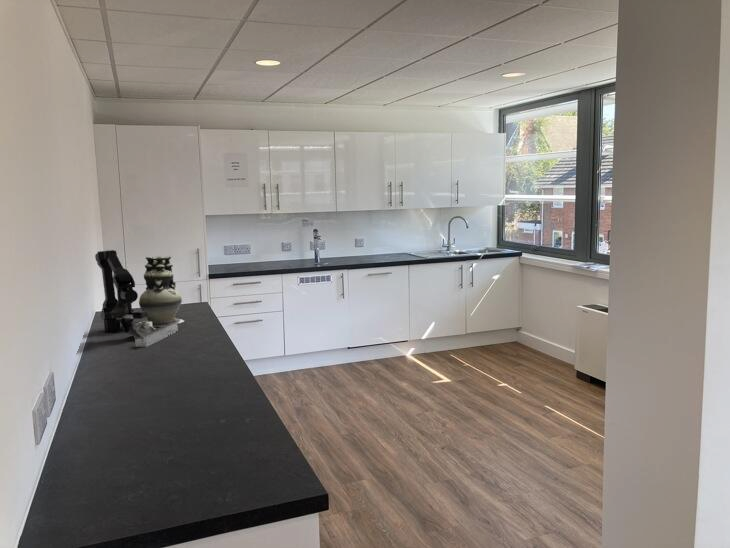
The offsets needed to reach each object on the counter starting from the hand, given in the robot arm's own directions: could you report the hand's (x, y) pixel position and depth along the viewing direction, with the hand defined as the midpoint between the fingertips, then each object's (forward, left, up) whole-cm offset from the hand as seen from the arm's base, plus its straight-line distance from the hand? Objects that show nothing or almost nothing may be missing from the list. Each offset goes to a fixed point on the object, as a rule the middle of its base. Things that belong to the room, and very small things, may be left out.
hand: (127, 332), depth 276 cm
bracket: (+15, 0, -3) cm, 16 cm away
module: (+1, +14, -3) cm, 14 cm away
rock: (+8, +3, -3) cm, 9 cm away
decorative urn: (0, +33, -3) cm, 33 cm away
